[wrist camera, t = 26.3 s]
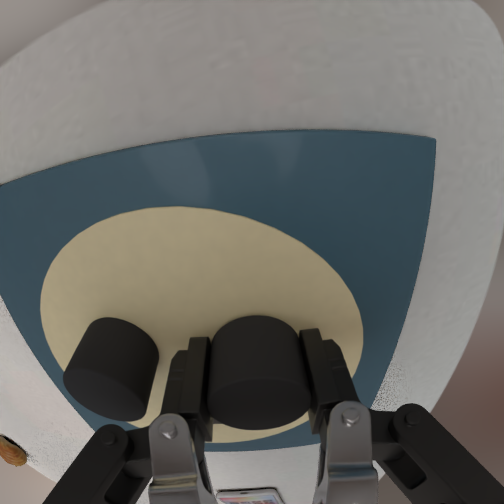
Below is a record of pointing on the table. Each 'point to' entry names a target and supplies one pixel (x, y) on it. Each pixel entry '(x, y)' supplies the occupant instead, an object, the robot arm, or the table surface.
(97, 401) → the black short cylinder
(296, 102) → the table surface
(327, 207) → the face board
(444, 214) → the table surface
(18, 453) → the pastry
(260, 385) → the black short cylinder
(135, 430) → the robot arm
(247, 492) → the smartphone
